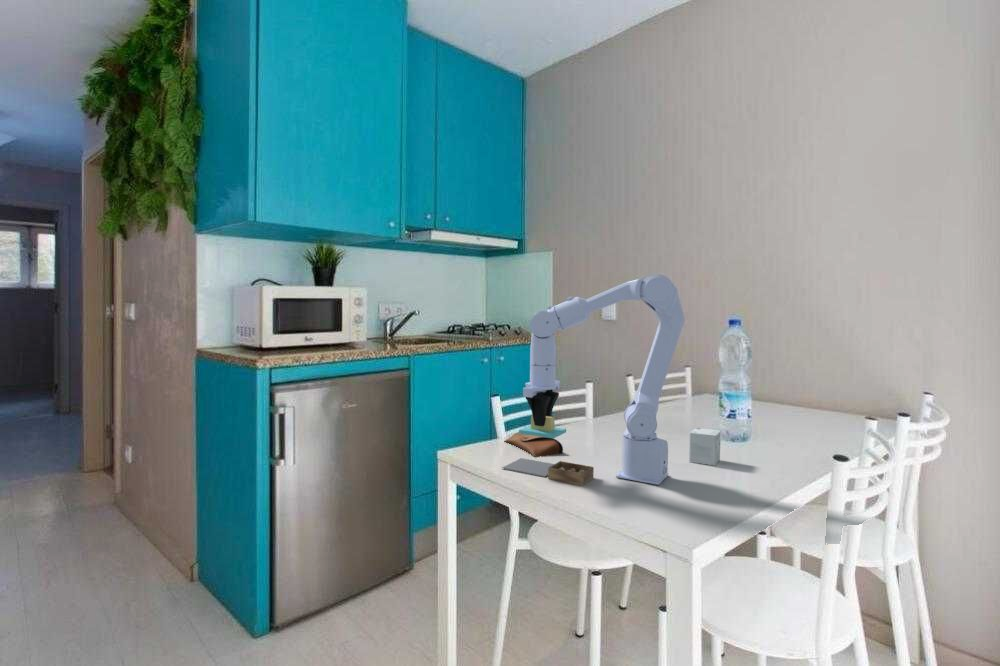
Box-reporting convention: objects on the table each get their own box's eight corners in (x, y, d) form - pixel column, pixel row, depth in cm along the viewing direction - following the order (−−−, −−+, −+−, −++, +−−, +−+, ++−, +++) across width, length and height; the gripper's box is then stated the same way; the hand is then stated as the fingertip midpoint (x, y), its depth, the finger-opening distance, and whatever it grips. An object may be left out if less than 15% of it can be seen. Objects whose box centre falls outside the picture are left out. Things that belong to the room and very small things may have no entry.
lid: (566, 432, 121) (566, 415, 120) (553, 438, 115) (553, 421, 115) (532, 427, 125) (532, 411, 125) (518, 433, 119) (518, 416, 119)
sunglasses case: (500, 440, 146) (511, 419, 147) (519, 451, 149) (529, 429, 150) (535, 457, 130) (547, 433, 132) (555, 468, 133) (567, 444, 135)
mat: (562, 466, 123) (562, 465, 123) (545, 477, 116) (545, 476, 116) (521, 459, 129) (521, 458, 129) (501, 468, 121) (501, 467, 121)
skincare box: (715, 466, 125) (716, 435, 124) (688, 462, 128) (689, 432, 127) (720, 460, 130) (721, 430, 129) (694, 456, 133) (695, 427, 133)
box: (593, 477, 116) (593, 466, 116) (582, 485, 111) (582, 474, 110) (559, 471, 120) (560, 461, 120) (548, 478, 115) (548, 467, 115)
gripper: (541, 360, 127) (540, 416, 128) (511, 366, 115) (510, 428, 116) (568, 362, 124) (567, 420, 125) (540, 368, 111) (539, 432, 112)
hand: (541, 424), depth 120 cm, fingers closed on lid, 2 cm apart
